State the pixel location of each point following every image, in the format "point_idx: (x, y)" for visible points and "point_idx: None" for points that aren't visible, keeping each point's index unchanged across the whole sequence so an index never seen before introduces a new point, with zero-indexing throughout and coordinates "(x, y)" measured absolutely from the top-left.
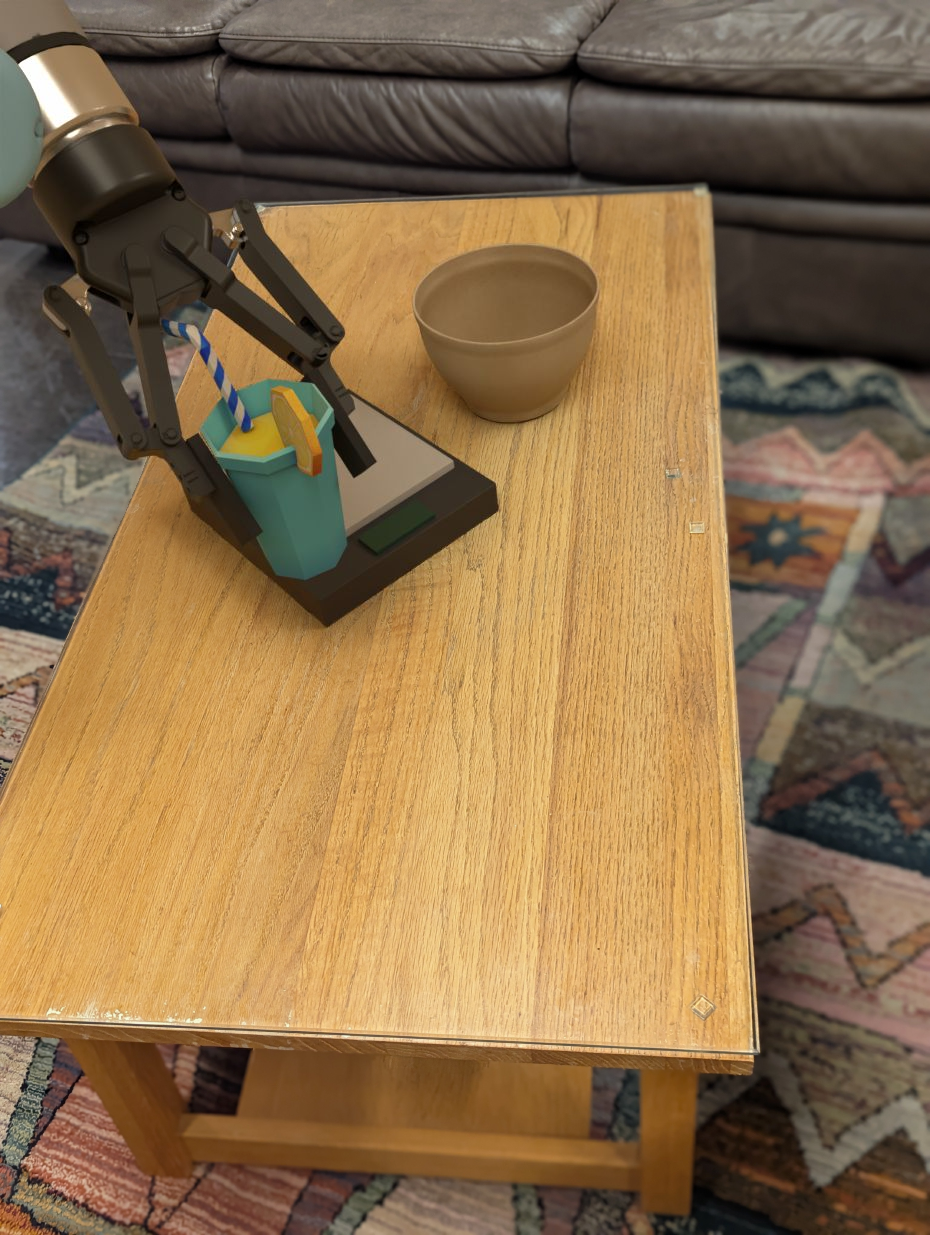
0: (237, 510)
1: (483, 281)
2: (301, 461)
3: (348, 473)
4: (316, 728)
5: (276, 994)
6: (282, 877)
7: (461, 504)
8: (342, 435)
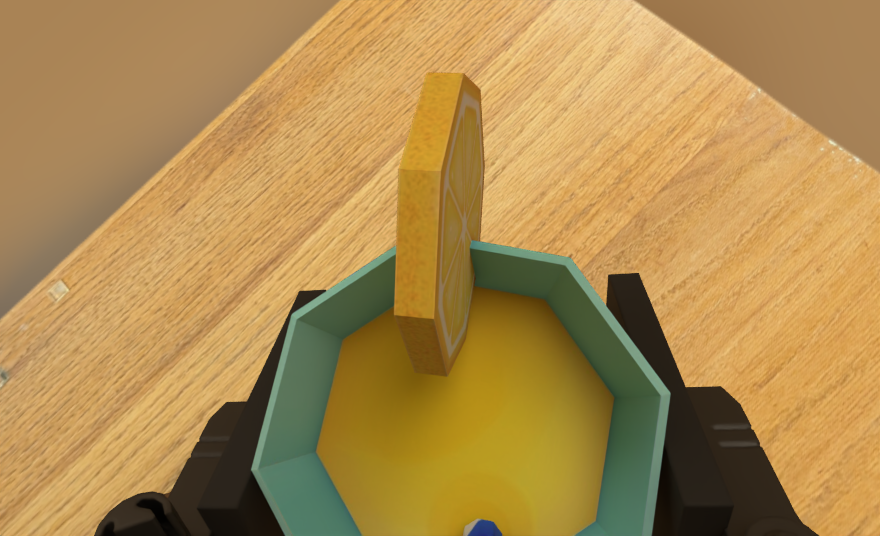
0: (648, 316)
1: None
2: (477, 218)
3: None
4: None
5: (754, 119)
6: (688, 218)
7: None
8: None
